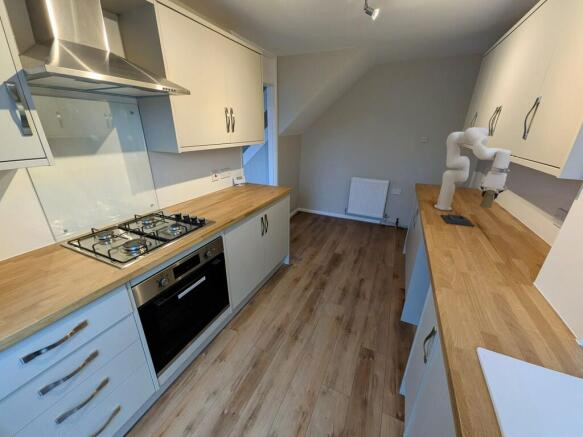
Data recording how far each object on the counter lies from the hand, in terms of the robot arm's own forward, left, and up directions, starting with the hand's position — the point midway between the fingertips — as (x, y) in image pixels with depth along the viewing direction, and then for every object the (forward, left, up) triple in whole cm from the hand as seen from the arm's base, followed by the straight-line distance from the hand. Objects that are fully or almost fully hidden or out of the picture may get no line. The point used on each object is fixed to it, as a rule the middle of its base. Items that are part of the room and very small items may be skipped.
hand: (488, 197), depth 154 cm
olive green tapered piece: (0, 0, -6) cm, 6 cm away
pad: (-7, -11, -21) cm, 25 cm away
